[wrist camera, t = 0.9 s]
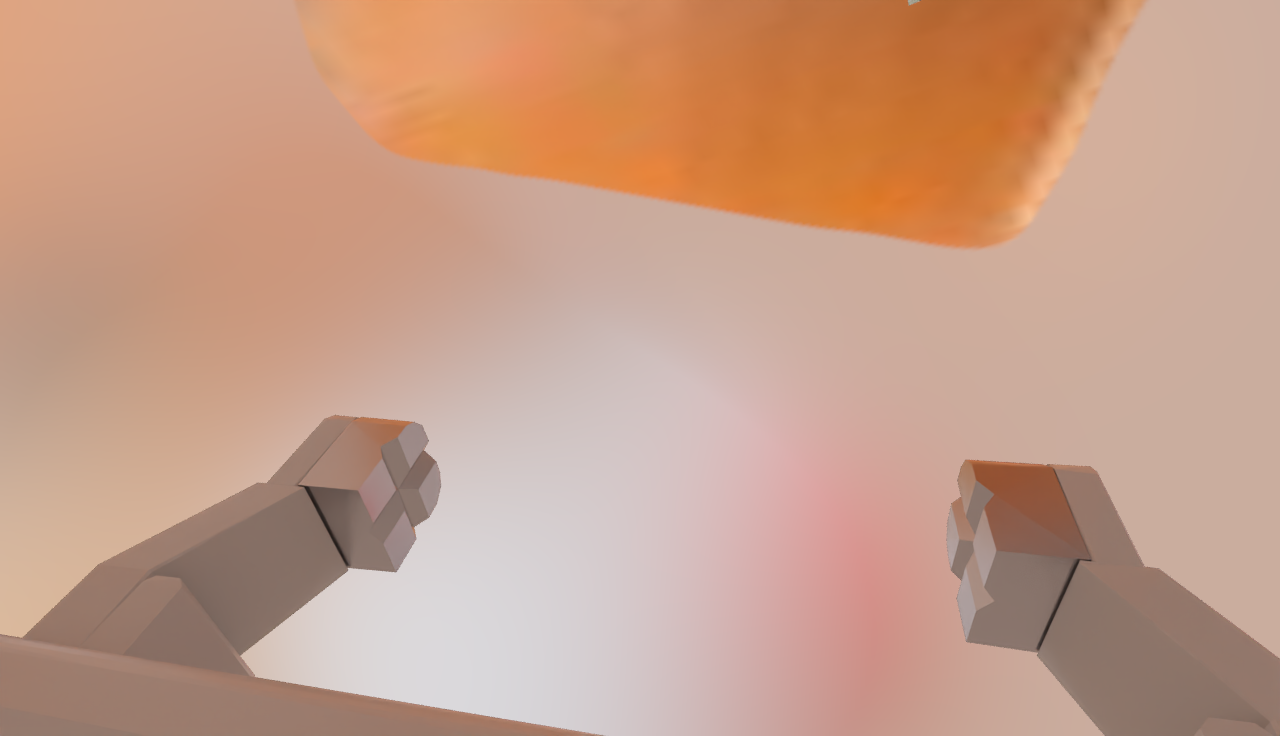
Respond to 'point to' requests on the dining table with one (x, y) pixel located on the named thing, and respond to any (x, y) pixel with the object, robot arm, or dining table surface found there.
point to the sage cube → (912, 1)
